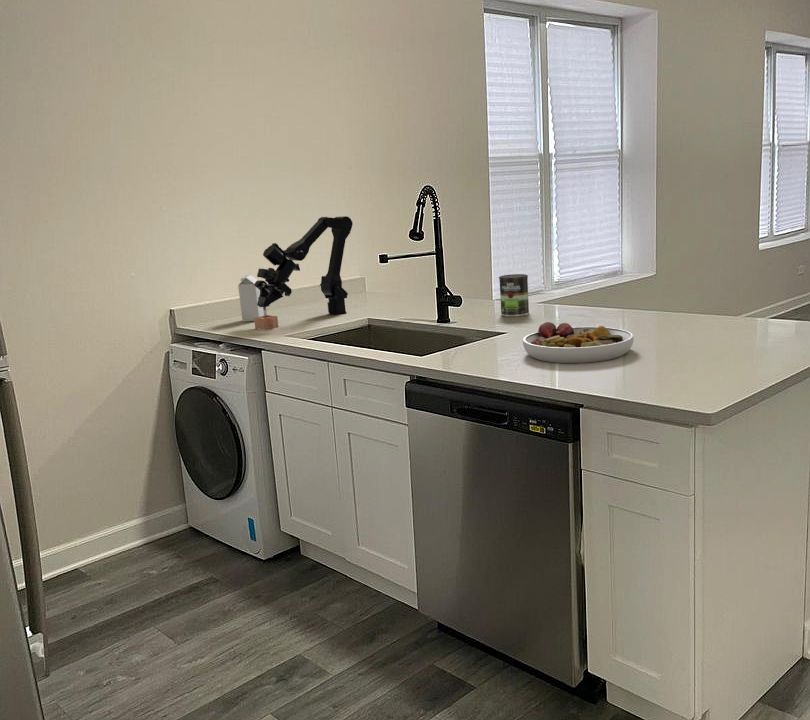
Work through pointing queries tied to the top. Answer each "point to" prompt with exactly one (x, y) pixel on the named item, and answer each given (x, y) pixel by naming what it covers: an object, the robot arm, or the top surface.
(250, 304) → the milk carton
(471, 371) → the top surface
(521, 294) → the coffee can
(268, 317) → the reddish brown block
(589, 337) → the bowl
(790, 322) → the top surface
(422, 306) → the top surface
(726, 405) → the top surface
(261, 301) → the plunger
